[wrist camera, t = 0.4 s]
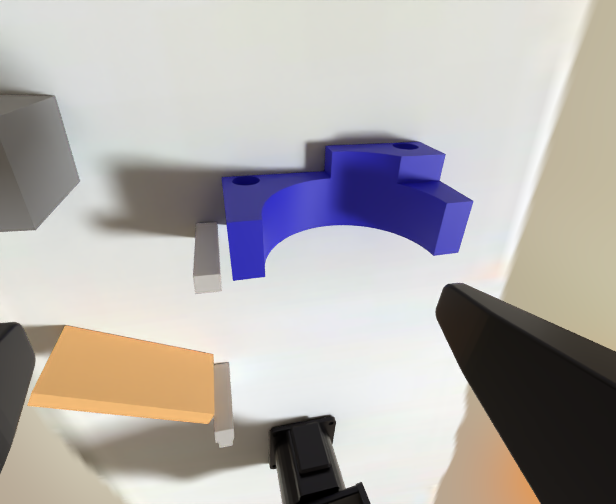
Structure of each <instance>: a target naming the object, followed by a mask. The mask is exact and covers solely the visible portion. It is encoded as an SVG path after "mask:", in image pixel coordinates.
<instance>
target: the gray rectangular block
mask: <svg viewBox="0 0 616 504" xmlns="http://www.w3.org/2000/svg"><path fill="white" fill-rule="evenodd" d="M79 182H80V179H79V176H78V172H77V169H76V165H75V162H74V159H73V155H72V152H71V148H70V145H69V142H68V138H67V135H66V131H65V128H64V124H63V121H62V118H61V114H60V111H59V107H58V104H57V100H56V97H55V96H42V95H9V94H0V232H8V231H27V230H36V229H37V228H38V227H39V226H40V225H41V224H42V222H43V221H44V220H45V219H46V218H47V217H48V216H49V215H50V214H51V213H52V211H53V210H54V209H55V208H56V207H57V206H58V205H59V204H60V203H61V202H62V200H63V199H64V198H65V197H66V196H67V195H68V194H69V193H70V192H71V191H72V190H73V188H74V187H75V186H76V185H77V184H78V183H79Z"/></svg>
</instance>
